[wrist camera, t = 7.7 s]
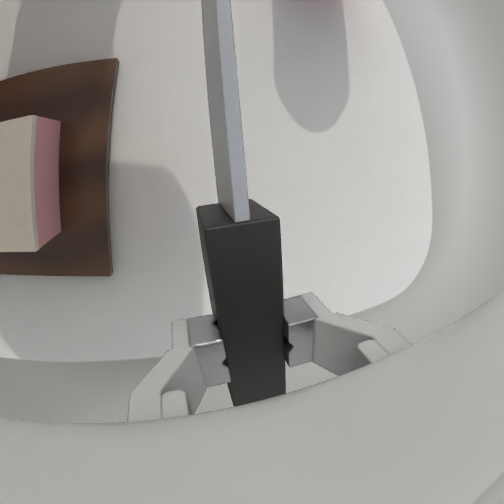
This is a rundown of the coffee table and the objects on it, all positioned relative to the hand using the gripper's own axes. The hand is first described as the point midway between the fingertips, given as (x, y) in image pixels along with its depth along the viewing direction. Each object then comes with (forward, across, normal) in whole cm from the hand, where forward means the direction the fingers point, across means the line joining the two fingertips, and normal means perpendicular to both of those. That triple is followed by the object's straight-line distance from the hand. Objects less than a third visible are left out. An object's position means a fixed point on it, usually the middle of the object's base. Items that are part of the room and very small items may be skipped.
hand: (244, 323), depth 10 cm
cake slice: (+14, +14, -7) cm, 21 cm away
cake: (+15, +16, -8) cm, 23 cm away
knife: (+2, 0, -4) cm, 5 cm away
